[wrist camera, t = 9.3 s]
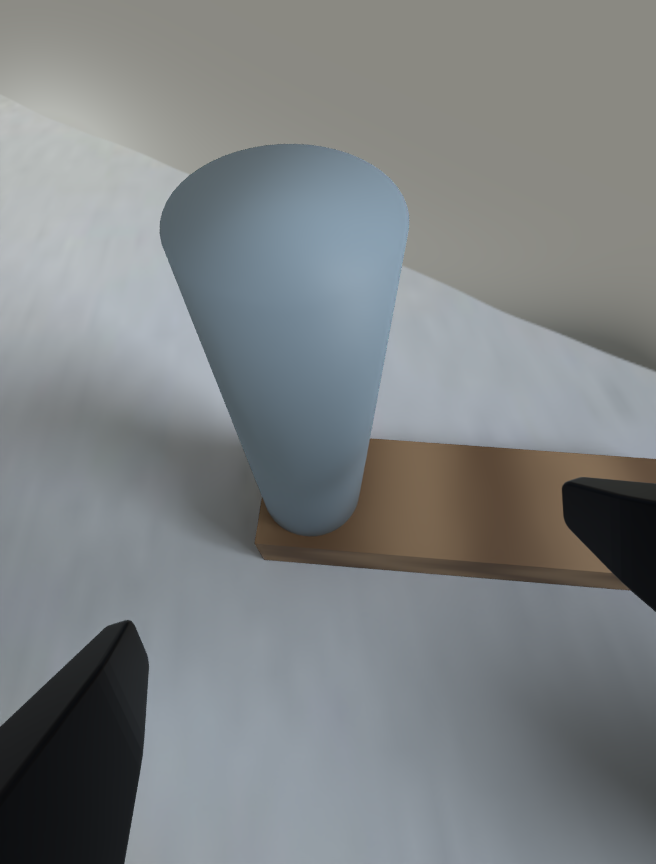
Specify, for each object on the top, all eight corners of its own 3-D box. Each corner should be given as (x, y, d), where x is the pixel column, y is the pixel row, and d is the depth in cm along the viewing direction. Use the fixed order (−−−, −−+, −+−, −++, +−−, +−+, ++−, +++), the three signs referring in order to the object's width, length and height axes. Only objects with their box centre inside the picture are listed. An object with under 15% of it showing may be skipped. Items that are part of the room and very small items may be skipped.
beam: (684, 489, 21) (735, 464, 19) (720, 598, 19) (784, 587, 16) (279, 459, 22) (272, 431, 19) (264, 559, 20) (254, 543, 17)
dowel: (335, 552, 17) (350, 343, 6) (245, 511, 18) (106, 256, 7) (374, 466, 18) (441, 176, 7) (290, 432, 19) (239, 124, 8)
